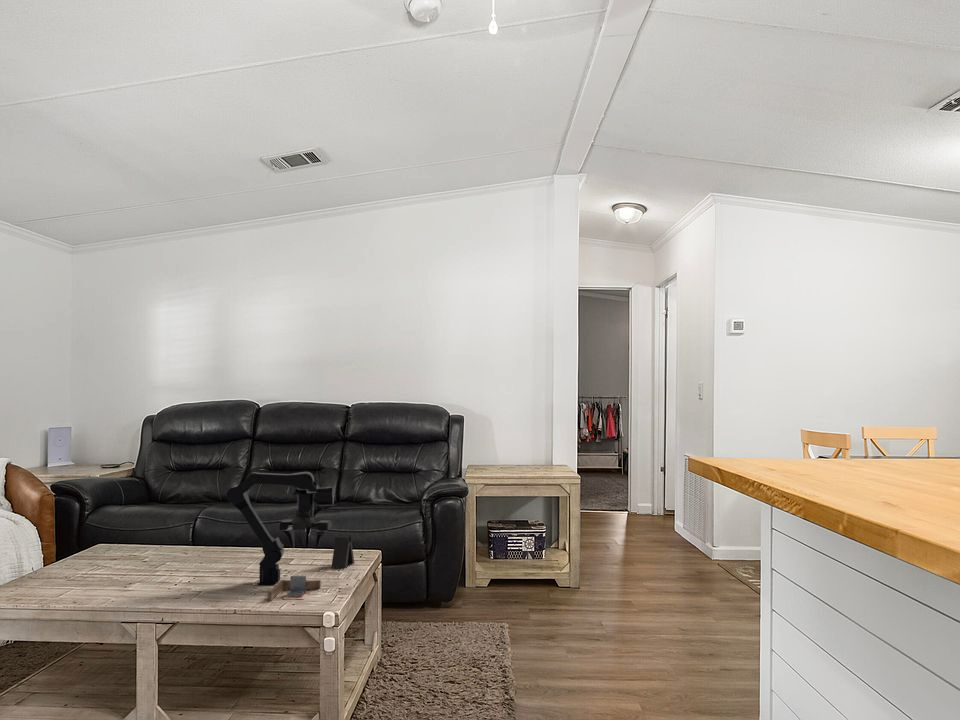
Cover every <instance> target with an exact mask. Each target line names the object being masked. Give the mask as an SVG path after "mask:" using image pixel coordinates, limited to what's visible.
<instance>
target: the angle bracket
mask: <svg viewBox="0 0 960 720" xmlns="http://www.w3.org/2000/svg"><path fill="white" fill-rule="evenodd" d="M290 580H291V589H290V590H288V592H287V594H286V595H287V597H303V596H304V595H305V593H306V592H307V590H306V580H307V575H291V576H290Z"/></svg>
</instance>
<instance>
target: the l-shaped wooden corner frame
mask: <svg viewBox="0 0 960 720" xmlns="http://www.w3.org/2000/svg"><path fill="white" fill-rule="evenodd" d="M321 582H322V581H321V579H306V589H320V588H321ZM283 589H291V579H280V581H279V582H277V583H276V584H275V586H274V587H272V588H271V589H270V590H269V591H268V592H267V602H273V601H274V600H275V599H276V598H277V597H278V596H279V595H280V594H281V593H282V592H283V591H284V590H283ZM321 589H322V588H321ZM321 589H320V590H321ZM282 590H283V591H282ZM281 591H282V592H281ZM280 592H281V593H280ZM279 593H280V594H279ZM278 594H279V595H278ZM277 595H278V596H277ZM276 596H277V597H276ZM275 597H276V598H275ZM274 598H275V599H274ZM273 599H274V600H273ZM272 600H273V601H272Z"/></svg>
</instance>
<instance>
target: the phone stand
mask: <svg viewBox="0 0 960 720" xmlns="http://www.w3.org/2000/svg"><path fill="white" fill-rule="evenodd" d="M352 543H353V542H352V536H351V535H340V534H337V535H335V537H334V547H333V552H332V554H333V555H332V561H331V566H330V568H331V569H341V568H346V569H347V567H348V566H349V567H351V566H352V564H353V565H354V564H355V557H354V552H353V544H352ZM350 565H351V566H350ZM349 567H348V568H349Z"/></svg>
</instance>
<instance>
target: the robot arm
mask: <svg viewBox="0 0 960 720" xmlns="http://www.w3.org/2000/svg"><path fill="white" fill-rule="evenodd" d="M255 484H258V485H261V484H262V485H281V486H283V485H284V486H285V485H286V486H290V487H294V488H295V490H294V491H293V492H292V496H297V509H296V511H295V516H294V517H293V519H283V520H282V521H280V522H279V523H278V527H277V528H278V530H279V531H281V532H282V533H284V534H286V536H287V538H288V540H289V543H290V546H291V548H292V549H294V548H295V543H296V542H295V539H296V537H295V536H296V534H295V533H296V531H297V530H299V531H305V530H306V529H307V528H309V529H310V528H311V529H315V528H316V529H317V530H316V539H315V540H316V541H315V543H316V544H315V547H316V549H317V550H318V549H319V547H320V544H321V542H322V539H323V537H324V534H325V533H326V532H328V531H329V530H330V529H332V527H333V523H332V521H331V520H330V519H329V520H325V519H323V520H322V519H321V520H319V521H317V522H315V518H314V511H315V507H314V504H316V505H317V506H318V507H321V506H322V507H325V506H328V507H330V506H334V503H335V502H334V501H335V500H334V499H335V495H334V487H332V486H328V487H320V486H319V485H318V484H317V483H316V481H315V477H314V475H313V473H311V472H310V471H299V472H294V473H276V472H275V473H274V472H271V473H268V472H258V471H253V472H252V473H250V474H249V475H248V476H247V477H246V478H245V479H244V480H243V481H241V482H240V483H239V484H236V485H233V486H232V487H230V488H229V489H228V490H227V492H226V497H225V498H226V499H227V501H228V502H229V503H230V504H231V505H232V506H233V507H234V508H236V509H237V510H238V511H239V512H240V513H241V514H242V516H243V518H244V520H245V521H246V522H247V524H248V526H249V527H250V529H251V531H253V533H254V535H255V536H256V538H257V540H258V541H259V542H260V545H261V548H262V549H261V550H262V552H263V555H264V556H263V557H262V558H261V560H260V562H259V564H258V565H259V579H258V580H259V581H258V583H257V585H258V584H264V586H265V585H266V586H267V585H268V586H269V585H271V584H272V585H275V586H276V585H277V584H278V583H279V582H280V581H281V568H280V563H279V564H278V562H280V561H281V560H282V557H283V556H284V552H285V549H284V546H285V545H284V544H283V543H282V542H281V540H280V537H279V536H277V537H276V538H274V537H273V536H272V535H271V533H270V532H269V531H268V529H267V528H266V526H265V524H264V523H263V521H262V520H261V518H260V517H259V515H258V514H257V512H256V511H255V509H254V507H253V505H252V504H251V501H250V497H249V495H248V491H249V490H250V489H251V488H252V487H253V486H254V485H255Z"/></svg>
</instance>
